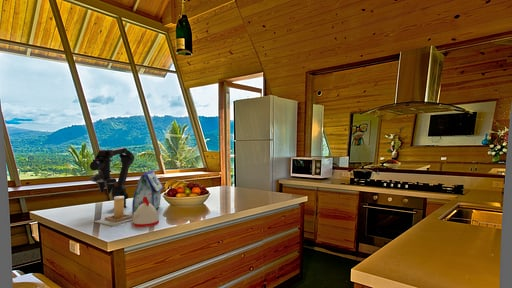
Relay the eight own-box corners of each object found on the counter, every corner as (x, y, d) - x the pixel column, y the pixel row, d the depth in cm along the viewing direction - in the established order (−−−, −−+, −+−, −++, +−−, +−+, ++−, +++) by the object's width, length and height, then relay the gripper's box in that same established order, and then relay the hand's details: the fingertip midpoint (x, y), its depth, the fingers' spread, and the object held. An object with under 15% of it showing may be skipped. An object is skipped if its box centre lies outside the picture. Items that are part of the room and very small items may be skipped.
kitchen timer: (153, 218, 171) (153, 194, 171) (162, 223, 161) (162, 197, 161) (129, 223, 162) (129, 196, 162) (137, 228, 152) (137, 200, 152)
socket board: (124, 214, 181) (124, 211, 181) (142, 217, 174) (142, 214, 174) (94, 222, 163) (94, 218, 163) (112, 226, 156) (112, 222, 156)
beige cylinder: (116, 217, 171) (116, 195, 171) (125, 217, 171) (125, 196, 171) (111, 219, 166) (112, 197, 166) (121, 220, 166) (121, 197, 166)
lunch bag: (158, 214, 183) (158, 173, 182) (130, 214, 180) (130, 173, 180) (163, 206, 205) (163, 169, 204) (139, 206, 202) (139, 170, 202)
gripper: (85, 169, 183) (85, 193, 183) (98, 171, 171) (98, 196, 171) (103, 167, 191) (103, 191, 192) (116, 169, 180) (116, 194, 180)
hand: (105, 193), depth 183 cm, fingers open, 9 cm apart
